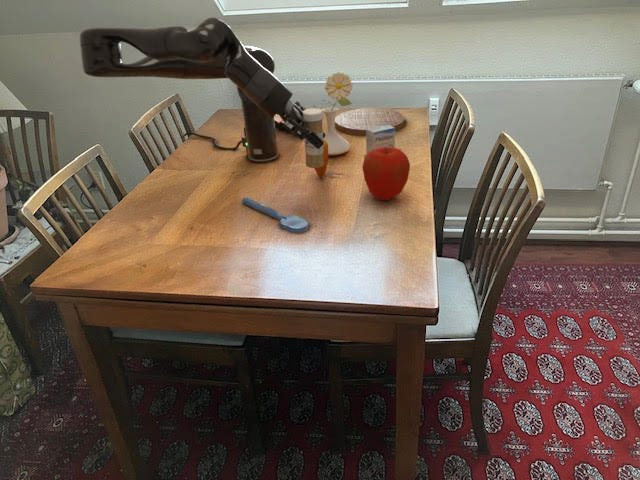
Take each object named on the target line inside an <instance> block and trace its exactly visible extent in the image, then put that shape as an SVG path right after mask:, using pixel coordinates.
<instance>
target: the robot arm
mask: <svg viewBox="0 0 640 480" xmlns="http://www.w3.org/2000/svg"><path fill="white" fill-rule="evenodd" d="M122 43H125V44H128V45H129V46H131V47H133V48H134V49H135V50H137V51H139V53H141V54H143V55H144V57H143V58H141V59H139V60H136V61H134V62H130V63H124V62H123V50H122ZM79 46H80V48H79V49H80V56H81V67H82V71H83V72H84V74H85V75H87V76H90V77H94V78H161V79H162V78H163V79H177V80H218V79H219V80H220V79H221V80H222V79H229V80H230V81H231V82H232V83H233V84H234V85H235V86H236V89H237V93H238V96H239V98H240V100H241V101H240V102H241V107H242V116H243V123H244V127H243V136H241V140H239V141H238V142H237V144H236V146H235V147H224V146H221V145H218V144H217V143H218V142H217V139H216V138H214V137H211V136H208V135H204V134H199V133H195V132H193V131H188V132H187V131H186V132H185V133H184V134H183V137H187V136H188V135H193V136H195V137H198V138H203V139H208V140H212V141H214V142H213V143H214V147H216V148H218V149H219V150H225V151H235V150H238V149H239V147H240V145H242V147H244V148H245V150H246V151H245V152H246V157H247V158H248V160H249V161H250V162H253V163H268V162H272V161H274V160H276V159H278V158H279V151H278V141H277V132H276V131H277V130H276V128H275V121H274V116H276V114H278V115H279V116H280V117H281V118H282V119H283V121H284V122H285V123H284V124H283V127H284V128H285V129H287V130H288V131H289V132H291V133H292V135H293V136H294V135H295V136H294V137H296V138H298V139H299V140H301V141H304V140H305V139H307V140H308V141H309V142H310V143H311V144H312V145H313V146H314V147H316V148H317V149H319V148H320V147H321V146H322V145H323V144H324V141H323V140H322V139H321V138H319V137H318V136H317V135H316V134H315V133H314V132H312V130H311V129H310V128H309V127H308V126H307V122H306V121H305V119H304V118H303V111H304V110H305V108H304V107H303V106H304V105H302V104H301V102H299V101H295V102H293V101H291V98H292V97H293V92H292V91H291V89H289V88H288V87H287V86H286V85H285V84H284V83H282V81H280V79H278V78H277V77H276V76H275V75H274V72H275V68H276V65H275V64H276V63H275V61H274V58H273V57H272V55H270V53H269V52H267V51H266V50H264V49H262V48H258V47H254V46H249V45H246V46H244V45H243V44H242V41H241V40H240V39H239V38H238V36H237V34H235V32H234V31H233V29H232V28H231V27H230V25H229V24H227V23H226V22H224V21H223V20H221V19H220V18H217V17H214V16H213V17H208V18H206V19H204V20H203V21H201V23H200V24H199V25H198V26H197V27H195V28H193V30H189V29H187V28H186V27H184V26H180V25H175V26H174V25H173V26H172V25H171V26H164V27H157V28H156V27H155V28H137V27H136V28H135V27H90V28H86V29H83V30H82V31H80V33H79ZM301 130H302V131H303V132H302V131H301ZM291 133H290V134H291ZM325 136H326V133H325V132H324V131H323V139H324V138H325Z"/></svg>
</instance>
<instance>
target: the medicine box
mask: <svg viewBox="0 0 640 480" xmlns="http://www.w3.org/2000/svg"><path fill="white" fill-rule="evenodd" d="M382 147H393V148H396V131H395V128H394V127H392V126H390V125H384V126H380V127H375V128H371V129H366V135H365V156H366V155H367V154H368V153H369V152H370V151H371V150H373V149H377V148H382Z"/></svg>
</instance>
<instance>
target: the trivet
mask: <svg viewBox="0 0 640 480" xmlns="http://www.w3.org/2000/svg"><path fill="white" fill-rule="evenodd" d="M384 125H390V126H392V127H394V128H395V132H396V131H399V130H400V129H402V128H403V127H404V126H405V116H404V114H403V113H401V112H399V111H398V110H397V111H396V110H393V109H389V108H388V109H387V108H380V107H366V108H365V107H363V108H356V109H351V110H346V111H344V112H342V113H339V114H338V115H336V116H335V129H336V130H338V131H340V132H341V133H342V132H343V133H345V134H350V135H357V136H366V129H371V128H375V127H380V126H384Z"/></svg>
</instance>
